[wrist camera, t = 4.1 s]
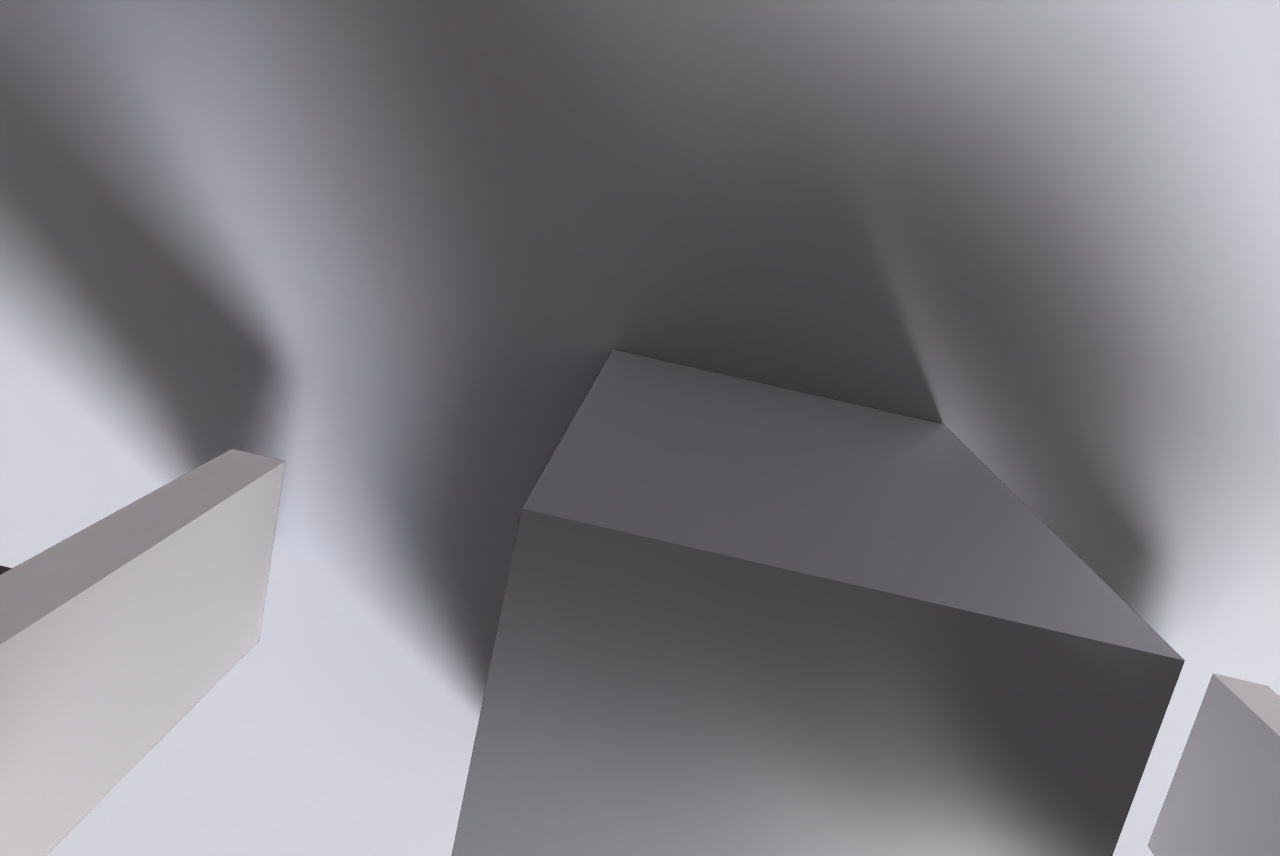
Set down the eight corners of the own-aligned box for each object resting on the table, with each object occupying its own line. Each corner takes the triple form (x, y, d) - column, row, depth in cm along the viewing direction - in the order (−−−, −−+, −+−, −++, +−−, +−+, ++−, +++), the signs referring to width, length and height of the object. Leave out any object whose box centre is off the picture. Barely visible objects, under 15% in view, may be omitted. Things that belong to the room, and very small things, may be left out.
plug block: (523, 762, 17) (373, 1239, 9) (613, 349, 16) (522, 507, 8) (822, 831, 17) (921, 1369, 9) (942, 423, 15) (1184, 660, 8)
